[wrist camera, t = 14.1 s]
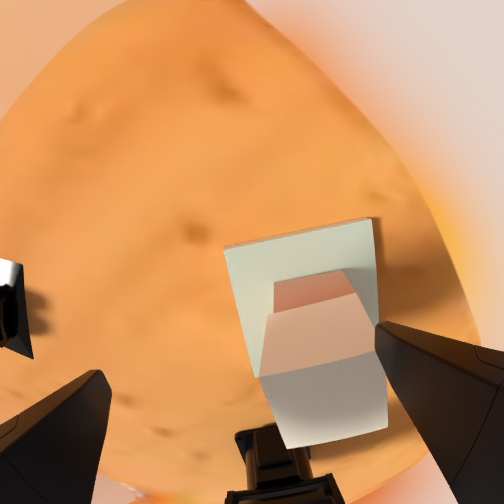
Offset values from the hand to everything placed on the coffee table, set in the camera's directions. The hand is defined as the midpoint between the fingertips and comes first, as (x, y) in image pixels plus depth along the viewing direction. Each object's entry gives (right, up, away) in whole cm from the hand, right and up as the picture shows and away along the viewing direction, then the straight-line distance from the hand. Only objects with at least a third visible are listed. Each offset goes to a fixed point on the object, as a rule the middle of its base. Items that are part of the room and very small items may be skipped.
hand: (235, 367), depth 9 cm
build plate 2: (-22, -1, +12) cm, 25 cm away
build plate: (+5, 0, +13) cm, 13 cm away
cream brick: (+4, -1, +6) cm, 8 cm away
